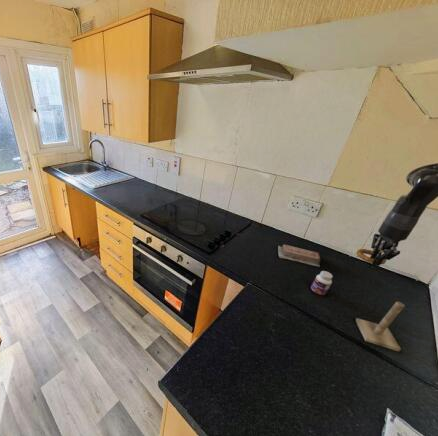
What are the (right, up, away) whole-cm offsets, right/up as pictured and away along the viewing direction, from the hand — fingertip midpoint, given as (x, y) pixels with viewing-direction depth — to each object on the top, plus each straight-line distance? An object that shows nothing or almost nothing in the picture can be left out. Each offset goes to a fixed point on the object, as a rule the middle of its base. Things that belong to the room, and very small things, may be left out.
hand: (373, 262), depth 88 cm
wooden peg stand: (-9, -24, -9) cm, 27 cm away
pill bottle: (-16, -14, +9) cm, 23 cm away
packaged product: (-10, -3, +30) cm, 32 cm away
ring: (+1, +2, +2) cm, 3 cm away
